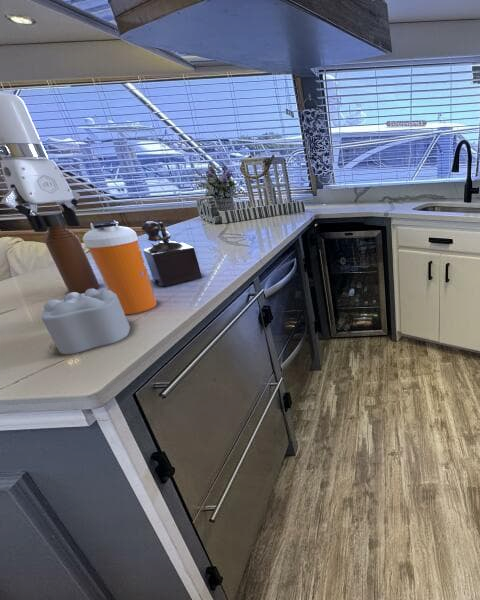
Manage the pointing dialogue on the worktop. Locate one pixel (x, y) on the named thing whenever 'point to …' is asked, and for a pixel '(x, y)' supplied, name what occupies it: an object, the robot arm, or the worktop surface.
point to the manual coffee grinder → (169, 257)
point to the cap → (53, 219)
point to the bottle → (70, 260)
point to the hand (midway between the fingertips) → (58, 228)
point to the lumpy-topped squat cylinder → (85, 320)
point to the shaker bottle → (121, 265)
